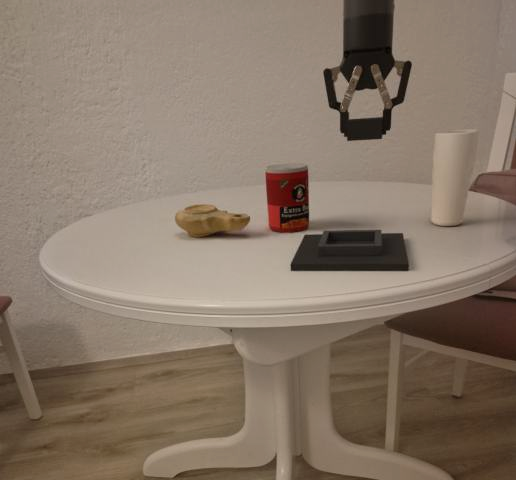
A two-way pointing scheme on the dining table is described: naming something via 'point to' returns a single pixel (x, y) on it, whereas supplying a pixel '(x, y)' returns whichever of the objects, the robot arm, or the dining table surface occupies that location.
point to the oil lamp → (209, 220)
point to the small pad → (364, 129)
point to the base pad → (351, 251)
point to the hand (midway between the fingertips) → (365, 135)
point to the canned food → (287, 197)
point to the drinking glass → (452, 174)
